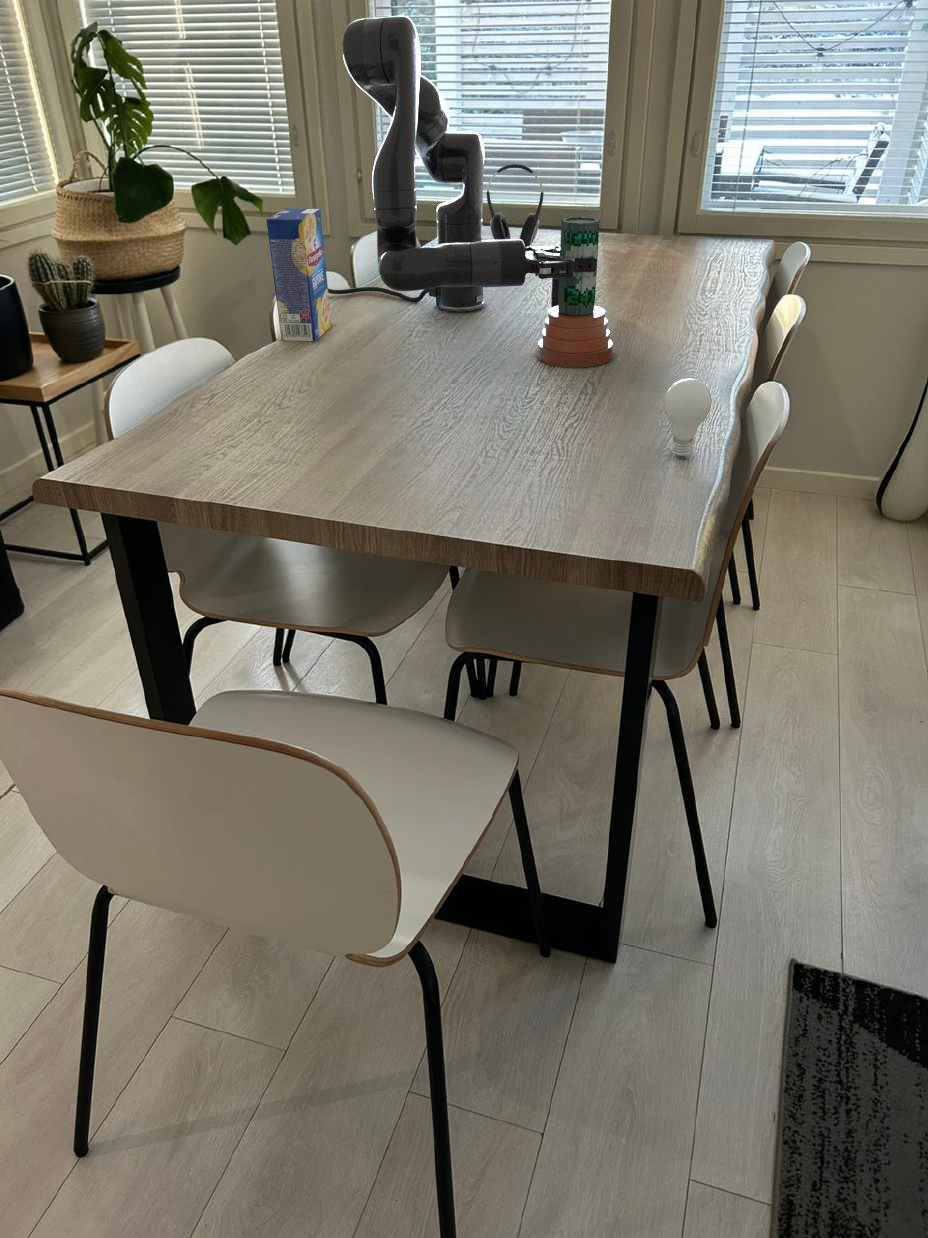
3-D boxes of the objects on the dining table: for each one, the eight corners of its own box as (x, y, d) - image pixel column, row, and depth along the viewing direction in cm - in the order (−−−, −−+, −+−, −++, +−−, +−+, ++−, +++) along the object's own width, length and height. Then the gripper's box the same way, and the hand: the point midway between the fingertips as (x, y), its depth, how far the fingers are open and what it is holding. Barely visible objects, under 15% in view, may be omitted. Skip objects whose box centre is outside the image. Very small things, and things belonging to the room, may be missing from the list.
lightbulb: (653, 448, 138) (660, 373, 132) (697, 446, 139) (706, 371, 133) (665, 466, 133) (673, 388, 127) (710, 464, 133) (720, 386, 127)
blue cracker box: (331, 325, 196) (320, 208, 184) (315, 341, 186) (302, 219, 175) (299, 324, 197) (285, 208, 185) (281, 340, 188) (266, 219, 176)
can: (570, 316, 167) (575, 224, 159) (552, 308, 172) (555, 218, 164) (600, 312, 170) (605, 220, 162) (580, 304, 174) (585, 215, 166)
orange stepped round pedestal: (523, 359, 174) (524, 314, 170) (564, 341, 183) (565, 297, 179) (586, 372, 167) (588, 325, 163) (625, 353, 176) (628, 308, 172)
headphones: (539, 251, 249) (541, 166, 238) (483, 249, 252) (482, 165, 241) (545, 244, 256) (546, 161, 245) (490, 243, 259) (489, 160, 248)
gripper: (502, 249, 157) (603, 245, 158) (490, 231, 169) (583, 228, 170) (501, 296, 161) (600, 292, 162) (489, 276, 173) (581, 272, 174)
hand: (591, 259), depth 166 cm, fingers closed on can, 6 cm apart
